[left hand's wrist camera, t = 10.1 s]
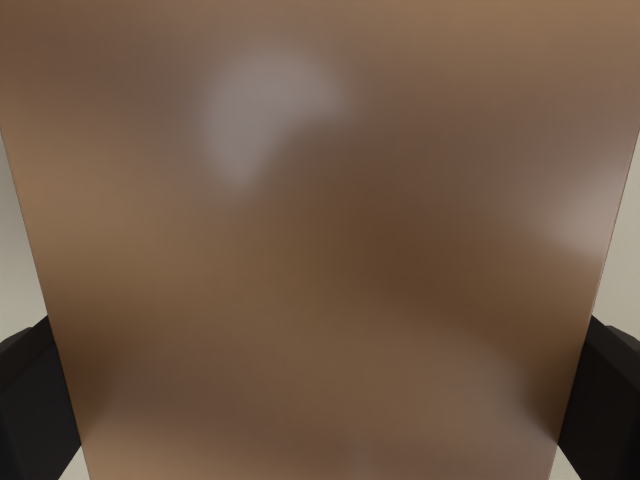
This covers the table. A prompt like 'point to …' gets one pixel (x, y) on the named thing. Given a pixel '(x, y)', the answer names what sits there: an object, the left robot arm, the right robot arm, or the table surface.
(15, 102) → the cabinet
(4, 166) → the table surface
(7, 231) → the table surface
